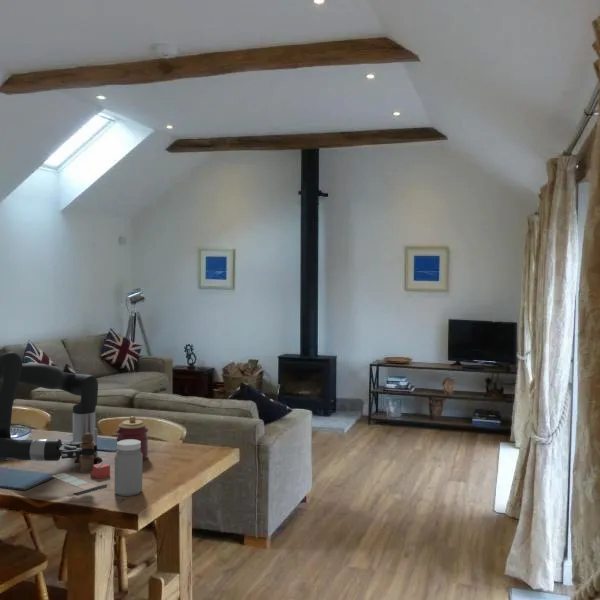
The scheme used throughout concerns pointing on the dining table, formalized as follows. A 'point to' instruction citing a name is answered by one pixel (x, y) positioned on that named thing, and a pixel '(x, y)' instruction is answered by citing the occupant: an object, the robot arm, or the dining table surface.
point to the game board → (79, 483)
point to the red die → (101, 470)
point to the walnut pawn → (87, 460)
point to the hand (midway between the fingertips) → (95, 449)
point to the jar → (128, 467)
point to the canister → (134, 433)
